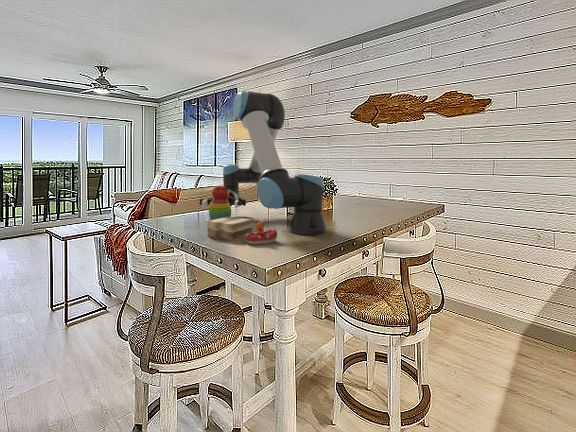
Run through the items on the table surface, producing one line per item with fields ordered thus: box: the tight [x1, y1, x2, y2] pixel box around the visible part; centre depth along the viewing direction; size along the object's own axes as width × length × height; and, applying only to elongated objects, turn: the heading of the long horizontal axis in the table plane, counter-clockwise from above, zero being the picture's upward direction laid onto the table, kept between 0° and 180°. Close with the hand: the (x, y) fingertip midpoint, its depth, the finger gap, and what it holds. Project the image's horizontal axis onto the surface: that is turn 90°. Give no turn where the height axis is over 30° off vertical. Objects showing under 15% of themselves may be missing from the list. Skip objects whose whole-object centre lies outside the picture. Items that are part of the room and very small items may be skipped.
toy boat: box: [244, 221, 278, 246], centre depth 129 cm, size 8×12×8 cm, turn 112°
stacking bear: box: [208, 184, 232, 221], centre depth 154 cm, size 11×10×18 cm
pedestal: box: [207, 216, 253, 241], centre depth 138 cm, size 12×12×6 cm
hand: (219, 204), depth 150 cm, fingers open, 13 cm apart
